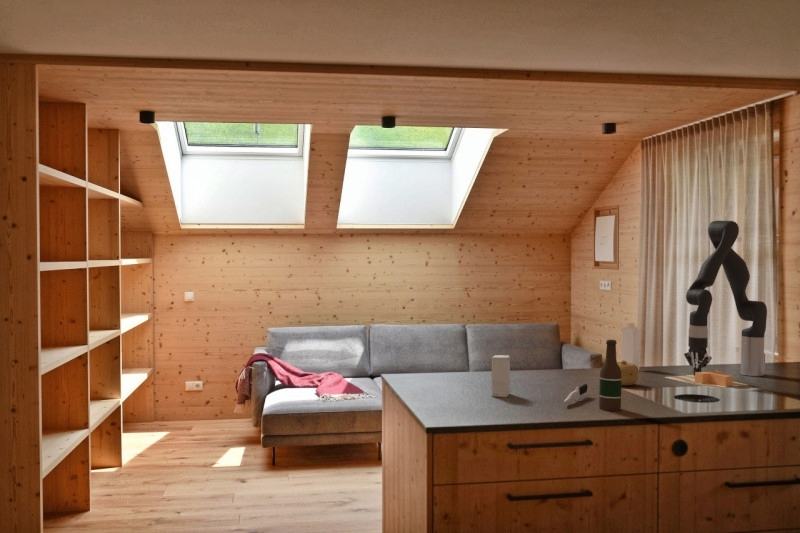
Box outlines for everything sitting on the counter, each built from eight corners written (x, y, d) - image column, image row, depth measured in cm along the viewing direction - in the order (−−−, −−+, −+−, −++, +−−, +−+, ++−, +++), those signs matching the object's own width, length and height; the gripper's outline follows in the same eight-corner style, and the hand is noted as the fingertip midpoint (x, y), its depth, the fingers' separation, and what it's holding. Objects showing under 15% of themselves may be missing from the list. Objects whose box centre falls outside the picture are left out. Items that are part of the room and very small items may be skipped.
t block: (716, 380, 304) (716, 370, 304) (739, 385, 293) (740, 375, 293) (694, 382, 300) (695, 372, 299) (718, 387, 289) (718, 377, 288)
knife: (565, 408, 251) (566, 394, 251) (561, 407, 252) (561, 393, 252) (588, 396, 272) (588, 383, 272) (583, 395, 273) (583, 382, 273)
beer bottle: (595, 406, 255) (596, 338, 254) (616, 406, 255) (618, 338, 255) (603, 411, 247) (604, 341, 246) (625, 411, 248) (626, 341, 247)
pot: (626, 381, 304) (627, 357, 304) (644, 386, 293) (644, 362, 293) (602, 382, 301) (603, 358, 301) (619, 388, 290) (620, 363, 289)
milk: (639, 371, 332) (640, 323, 331) (632, 372, 328) (633, 323, 327) (627, 369, 336) (628, 321, 336) (620, 370, 332) (621, 322, 331)
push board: (698, 376, 318) (698, 374, 318) (748, 387, 295) (749, 384, 295) (664, 379, 310) (664, 377, 310) (713, 390, 286) (713, 388, 286)
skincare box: (506, 397, 268) (507, 357, 267) (490, 396, 270) (491, 356, 269) (510, 393, 276) (511, 354, 275) (494, 392, 278) (495, 353, 277)
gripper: (717, 337, 302) (716, 378, 302) (692, 333, 314) (691, 373, 314) (704, 338, 298) (703, 380, 299) (679, 334, 310) (678, 374, 311)
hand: (697, 376), depth 306 cm, fingers closed
